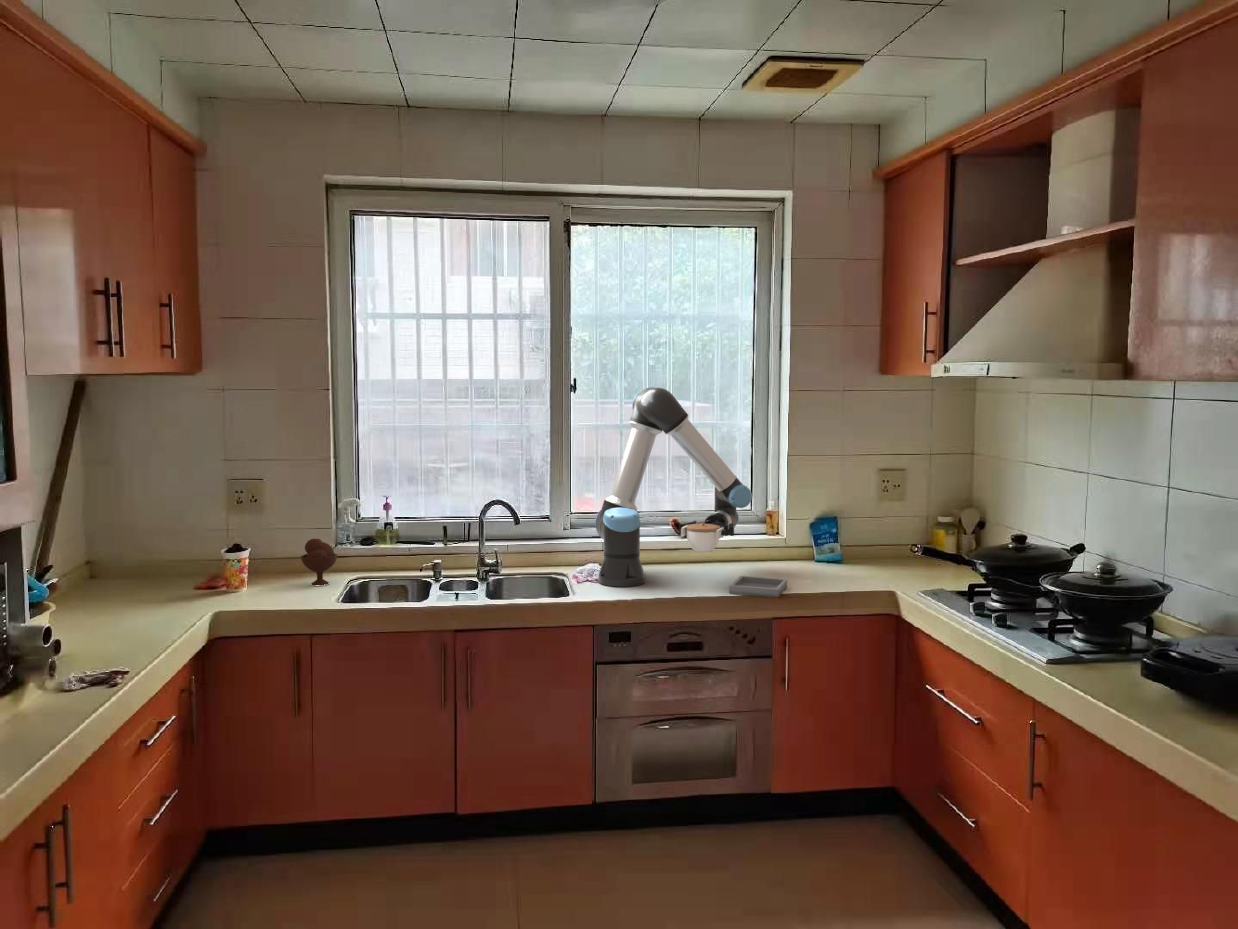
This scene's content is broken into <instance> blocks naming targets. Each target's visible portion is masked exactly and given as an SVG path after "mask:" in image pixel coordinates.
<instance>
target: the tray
mask: <svg viewBox="0 0 1238 929" xmlns="http://www.w3.org/2000/svg"><path fill="white" fill-rule="evenodd" d="M787 588H788V578H787V579H786V578H785V579H783V578H773V577H761V576H760V577H759V576H745V575H739V577H738V578H737V579H735V580H734V581H733V582H732V583H730V584H729V587H728V593H730V594H729V595H741V596H754V597H763V598H765V597H766V598H774V599H775V598H777V599H778V598H779V597H781V595H782V594H783V593H784V592H783V591H786V590H787ZM782 592H783V593H782Z"/></svg>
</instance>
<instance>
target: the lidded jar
mask: <svg viewBox="0 0 1238 929" xmlns="http://www.w3.org/2000/svg"><path fill="white" fill-rule="evenodd" d="M701 521H702V524H691V525H687V526H686V530H687V535H686V541H687V543H688V545H689V547H690V548H692V551H693V552H696V553H710V552H711V553H712V552H713V550H714V549H716V547H718V546H717V545H718V544H719V541H720V538H719V539H716V530H718V529H720V526H718V525H713V524H705V520H701Z"/></svg>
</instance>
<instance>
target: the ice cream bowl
mask: <svg viewBox="0 0 1238 929" xmlns="http://www.w3.org/2000/svg"><path fill="white" fill-rule="evenodd" d="M304 551H305V552H306V553H304V554H303V555H301V556H300V559H301V563H302V564H303V565H304V567H306V568H307V569H309V570H310V571H312V572H313V573H315V574H316V579H315V580H314V581H312V582H311V584H312V585H324V584H328V583H329V584H330V582H329V581H327V580H326V579H323V578H324V576H323V575H324V572H326V571H328V570H329V569H330V568H332V567H333V566H334V565H335V563H336V562H337V559H338V553H335V552H334V548H333V547H332V545H330V544H329V543H326V542H325V541H322V539H320V538H311V539H309V540H307V541H306V543H305V545H304ZM311 584H310V585H311ZM329 584H328V585H329ZM312 585H311V586H312Z"/></svg>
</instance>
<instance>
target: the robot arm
mask: <svg viewBox="0 0 1238 929" xmlns="http://www.w3.org/2000/svg"><path fill="white" fill-rule="evenodd" d="M631 404H632V406H631V407H632V408H631V410H632V412H631V415H630V418H629V421H628V422H629V424H630V426H631V429H630V433H629V436H628V439H627V442H626V445H625V449H624V452H623V455H622V457H621V458H622V459H621V461H620V464H619V467H618V471H617V473H616V477H615V479H614V483H613V486H612V490H611V493H610V494H609V495H608V496H606V497H605V498H604V500H603V503H602V506H601V509H600V510H599V511H598V512H597V515H596V517H595V521H594V523H595V524H594V525H595V530H596V532H597V534H598V536H599V537H600V538H601V539H603V560H602V563H601V566H600V569H599V572H598V576H597V577H598V581H597V582H598V583H599V584H600V585H604V586H608V587H609V586H610V587H622V588H623V587H626V588H627V587H636V586H640V585H644V584H645V582H646V574H645V571H644V568H643V565H642V562H641V557H640V552H641V551H640V550H641V549H640V548H641V547H640V546H641V540H640V538H641V537H640V536H641V535H640V534H641V526H640V525H641V519H640V517H641V516H640V513H639V512H638V507H637V506H636V499H637V497H638V493H639V491H640V487H641V484H642V481H643V479H644V478H643V477H644V475H645V472H646V469H647V465H648V462H649V460H650V456H651V453H652V450H653V447H654V444H655V440H656V438H657V436H658V435H659V434H662V433H664V434H665V435H669V436H671V437H672V438H673V440H674V441H675V442H676V443H677V444H678V446H679V447H680V448H681V450H683V451H684V452H685V454H686V455H687V456H688V457H689V458H690V459H691V461H692V462H693V463H694V464H695V465H696V466H697V468H698V469H699V470H700V471H701V473H703V475H704V476H706V478H707V479H708V480H709V482H710V483H711V484H712V485H713V486H714V511H713V513H711V514H709V515H707V517H706V518H705V519H704V521H705V524H713V525H718V526H720V529H718V530H716V539H719V540H720V539H721V538H723V537H724V536H725V537H726V536H727V537H729V536H731V537H734V536H735V527H736V526H737V525H738V523H739V520H740V517H739V513H738V511H737V508H738V509H743V508H746V507H748V506H749V505H750V504H751V502H752V500H753V494H752V491H751V489H750V488H749V487H748V486H746V485H745V484H743V483H742V482H741V480H740V479H739V478H738V477H737V475H736V474H735V473H734V472H733V471H732V470H731V469H730V468H729V467H728V464H726V463H725V462H724V461H723V459H722V458H721V457H720V455H719V454H718V453H717V452H716V451H715V450H714V448H713V447H712V446H711V445H710V444H709V442H708V441H707V440H706V439H705V437H703V435H702V434H701V433H700V432H699V431H698V430H697V427H695V426H694V425H693V424H692V422H691V421H690V419H689V414H688V413H687V411H686V410H685V408H684V407H683V406H682V405H681V404H680V402H679V401H678V400H677V398H676V397H675V396H674V395H673V393H671V392H670V391H669V390H667V389H665V388H663V387H646V388H644V389H642V390H640V391H638V393H636V395H635V396H634V398H633V400H632V403H631ZM702 521H703V520H701V521H699V522H698V521H697V520H693V521H690V522H689V521H688V522H684V523H680V524H679V530H678V531H679V533H680V537H686V536H687V530H686V526H687V525H691V524H702Z"/></svg>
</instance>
